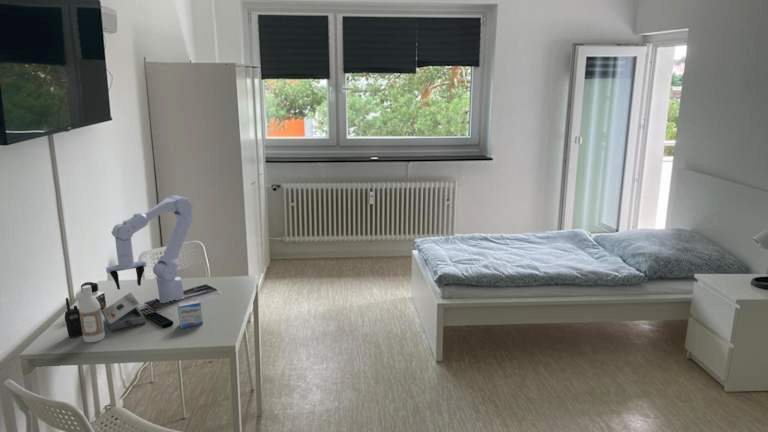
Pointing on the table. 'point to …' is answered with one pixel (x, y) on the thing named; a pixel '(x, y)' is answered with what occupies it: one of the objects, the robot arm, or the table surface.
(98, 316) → the bath foam
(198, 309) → the medicine box
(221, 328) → the table surface
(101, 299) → the medicine bottle
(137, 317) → the flat grey box
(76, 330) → the two-way radio
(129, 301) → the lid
